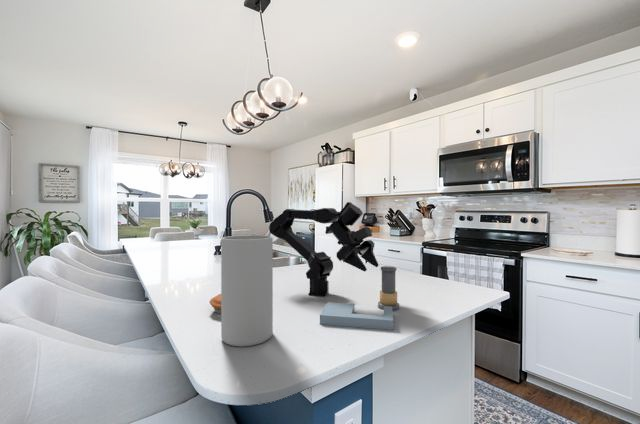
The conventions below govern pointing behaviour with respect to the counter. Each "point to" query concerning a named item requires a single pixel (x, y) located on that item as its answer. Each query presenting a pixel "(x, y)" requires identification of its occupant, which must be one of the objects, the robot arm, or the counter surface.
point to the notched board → (355, 317)
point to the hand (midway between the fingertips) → (371, 268)
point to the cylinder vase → (246, 289)
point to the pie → (216, 303)
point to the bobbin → (388, 289)
